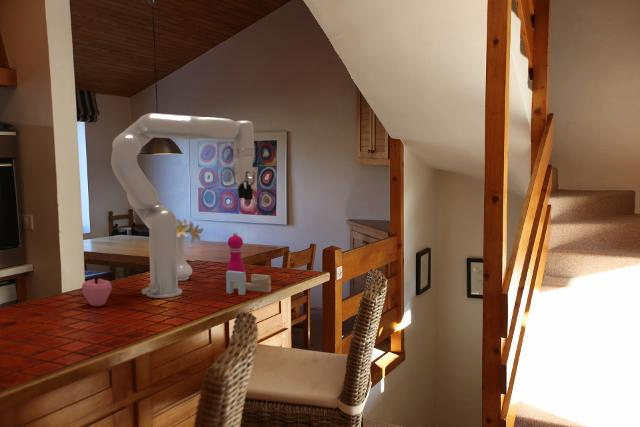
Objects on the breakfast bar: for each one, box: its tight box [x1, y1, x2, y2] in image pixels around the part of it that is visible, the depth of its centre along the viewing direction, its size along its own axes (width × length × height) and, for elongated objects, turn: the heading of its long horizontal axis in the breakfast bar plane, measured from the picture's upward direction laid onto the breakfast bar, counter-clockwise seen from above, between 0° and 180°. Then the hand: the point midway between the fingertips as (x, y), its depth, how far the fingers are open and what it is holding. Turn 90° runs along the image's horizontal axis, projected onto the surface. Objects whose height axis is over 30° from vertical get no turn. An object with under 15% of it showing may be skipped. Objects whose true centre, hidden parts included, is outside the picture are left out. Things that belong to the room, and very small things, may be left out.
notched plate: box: [225, 270, 247, 296], centre depth 214 cm, size 2×7×8 cm, turn 64°
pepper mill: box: [226, 231, 246, 273], centre depth 235 cm, size 7×7×20 cm
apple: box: [81, 277, 113, 307], centre depth 198 cm, size 10×9×10 cm
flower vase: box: [176, 218, 204, 282], centre depth 239 cm, size 13×18×25 cm
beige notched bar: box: [233, 272, 272, 294], centre depth 220 cm, size 2×18×6 cm, turn 64°
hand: (245, 198), depth 224 cm, fingers open, 9 cm apart
